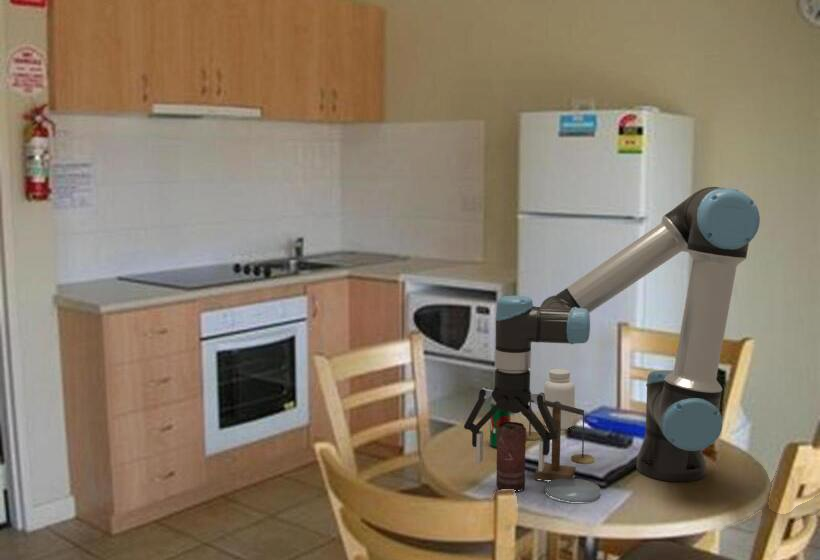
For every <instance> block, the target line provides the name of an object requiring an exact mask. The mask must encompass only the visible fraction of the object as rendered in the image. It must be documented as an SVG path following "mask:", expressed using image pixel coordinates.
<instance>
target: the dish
mask: <svg viewBox="0 0 820 560" xmlns="http://www.w3.org/2000/svg"><path fill="white" fill-rule="evenodd" d="M545 492H546V493H547V494H548V495H549V496H552V497H554V498H557V499H560V500H564V501H569V502H590V503H593V502H596V501H597V500H599V499H600V498H601V487H600V486H599V485H598V484H596V483H595V482H592V481H591V480H590V481H589V480H587V479H583V478H576V477H575V478H572V479H565V478H560V479H555V480H551V481H549V482H546V483H545V484H544V493H545ZM595 500H596V501H595ZM592 501H593V502H592Z"/></svg>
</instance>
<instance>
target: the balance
mask: <svg viewBox="0 0 820 560" xmlns="http://www.w3.org/2000/svg"><path fill="white" fill-rule="evenodd" d="M532 403H533V404H535V403H534V401H533V400H530V402H529V406H530V407H531V408H532ZM545 403H546V405H547V406H548V407H552V408H553V409H552V419H553V421H554V423H555V425H556V427H557V430H558V432H559V435H558V437H557V438H556V439H552V440H551V463H546V462H544V469H543V470H542V471H538V467H536V469H535V472H534V480H535V479H541V480H555V479H560V478H565V479H572V478H573V476H574V472H575V470H576V471H577V469H576V468H577V466H573V465H571V466H570V465H564V464H561V434H562V433H561V432H562V431H561V410H564V411H568V412H571V413H574V415H575V414H576V415H579V416H582V436H581V437H582V439H581V440H582V443H581V444H582V445H581V446H582V447H581V453H576V454H573V455H571V457H570V460H571V462H573V463H575V464H578V465H590V464H593V463H594V462H595V457H594V456H593V455H590V454H585V453H584V450H585V447H584V444H585V443H584V442H585V441H584V440H585V410H584V409H582V408H577V407H575V406H574V407H570V406H566V405H562V404H561V403H560V402H558V401H555V402H551V401H547V400H545ZM528 422H529V421H528ZM528 427H529V428H528V430H529V431H526V434H527V438H526V442H536V441H540V439H541V436H540V435H539V434H538V432H537V431H531V429H532V428H531V427H532V425H531V423H530V422H529V425H528Z"/></svg>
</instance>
